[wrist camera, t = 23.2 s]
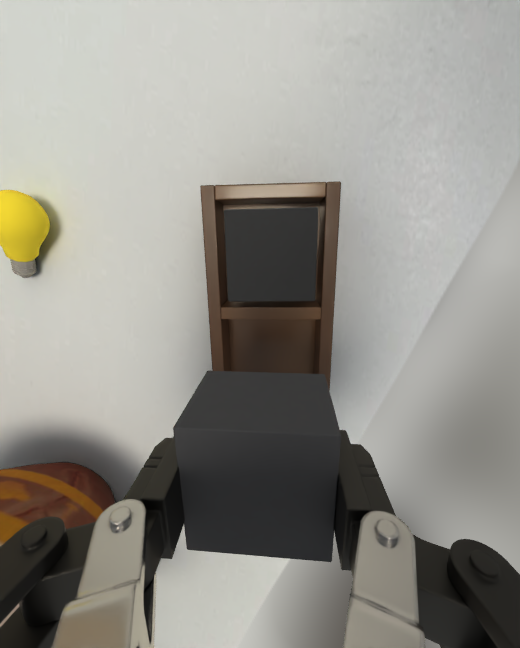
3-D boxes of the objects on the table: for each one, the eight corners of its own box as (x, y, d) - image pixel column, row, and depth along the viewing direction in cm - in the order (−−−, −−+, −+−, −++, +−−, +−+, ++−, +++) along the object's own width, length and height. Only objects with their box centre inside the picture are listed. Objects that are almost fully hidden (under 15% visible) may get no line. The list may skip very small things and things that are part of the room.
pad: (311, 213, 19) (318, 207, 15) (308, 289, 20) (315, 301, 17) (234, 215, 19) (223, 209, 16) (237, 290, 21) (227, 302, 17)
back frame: (332, 189, 19) (341, 181, 16) (322, 396, 23) (328, 418, 20) (211, 193, 20) (200, 185, 17) (223, 394, 24) (215, 415, 21)
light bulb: (54, 192, 20) (30, 207, 17) (61, 269, 24) (41, 292, 21) (-5, 177, 19) (-41, 190, 16) (10, 260, 23) (-17, 283, 20)
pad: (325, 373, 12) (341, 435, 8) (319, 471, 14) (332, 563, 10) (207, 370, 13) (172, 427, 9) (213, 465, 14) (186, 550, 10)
